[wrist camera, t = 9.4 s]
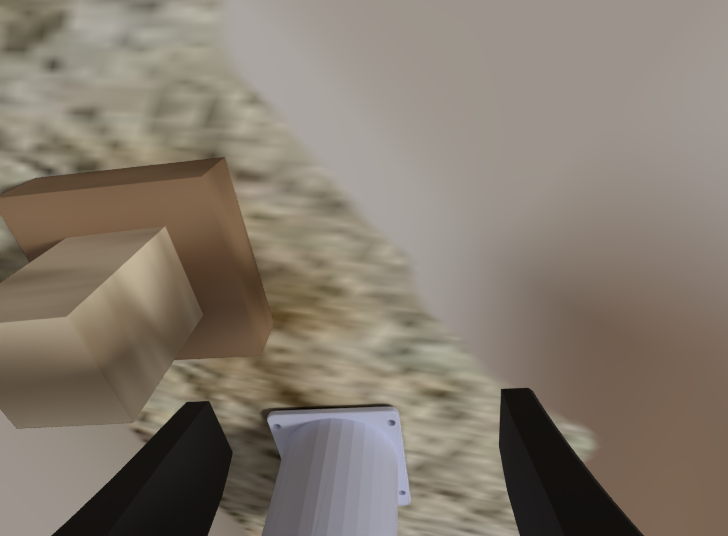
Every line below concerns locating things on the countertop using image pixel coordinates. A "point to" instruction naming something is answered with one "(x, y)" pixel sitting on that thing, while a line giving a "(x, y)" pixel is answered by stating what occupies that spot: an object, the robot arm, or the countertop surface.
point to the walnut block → (184, 225)
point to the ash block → (92, 328)
